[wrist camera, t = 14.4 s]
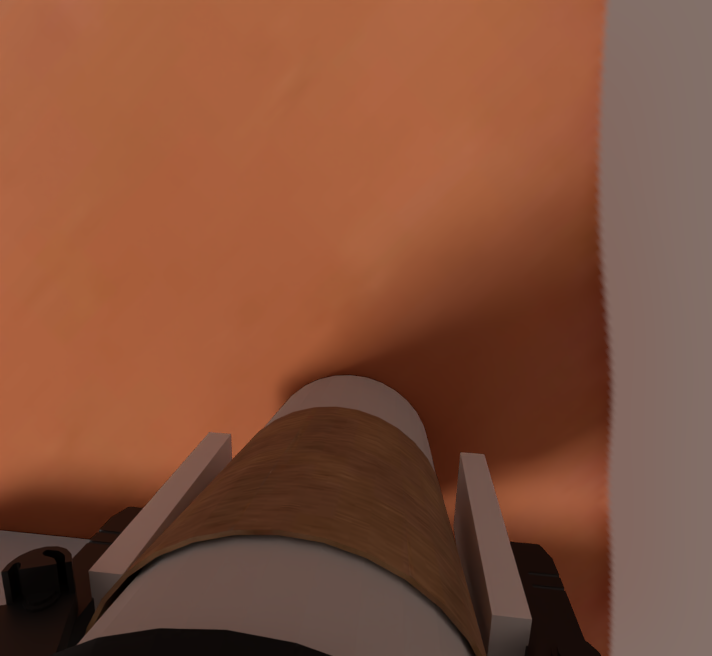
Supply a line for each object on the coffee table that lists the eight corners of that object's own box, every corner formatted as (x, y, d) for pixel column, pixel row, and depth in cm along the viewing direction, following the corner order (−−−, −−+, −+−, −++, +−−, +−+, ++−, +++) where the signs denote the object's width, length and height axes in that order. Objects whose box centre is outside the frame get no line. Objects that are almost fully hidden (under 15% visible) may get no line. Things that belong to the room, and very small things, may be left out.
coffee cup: (385, 295, 17) (244, 804, 3) (505, 488, 18) (852, 1535, 4) (197, 409, 19) (-488, 1075, 5) (319, 577, 20) (88, 1514, 6)
